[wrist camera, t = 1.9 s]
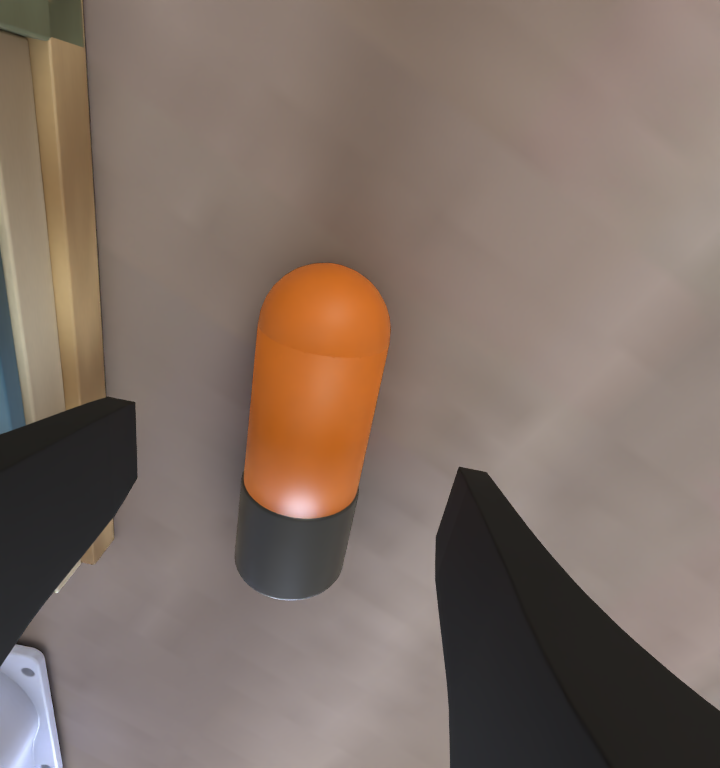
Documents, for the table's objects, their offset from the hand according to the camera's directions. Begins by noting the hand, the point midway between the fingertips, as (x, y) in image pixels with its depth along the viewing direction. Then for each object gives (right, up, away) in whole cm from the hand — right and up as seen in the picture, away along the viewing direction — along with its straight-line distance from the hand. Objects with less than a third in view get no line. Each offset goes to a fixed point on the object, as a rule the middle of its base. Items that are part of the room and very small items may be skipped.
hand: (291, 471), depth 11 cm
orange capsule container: (0, +1, +3) cm, 3 cm away
